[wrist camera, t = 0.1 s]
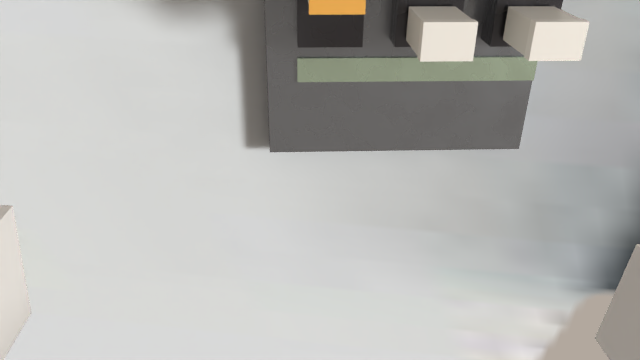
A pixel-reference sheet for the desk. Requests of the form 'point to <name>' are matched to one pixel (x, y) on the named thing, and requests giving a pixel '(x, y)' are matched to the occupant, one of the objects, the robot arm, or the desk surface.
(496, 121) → the panel
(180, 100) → the desk surface
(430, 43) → the block
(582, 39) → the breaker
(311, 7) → the block
